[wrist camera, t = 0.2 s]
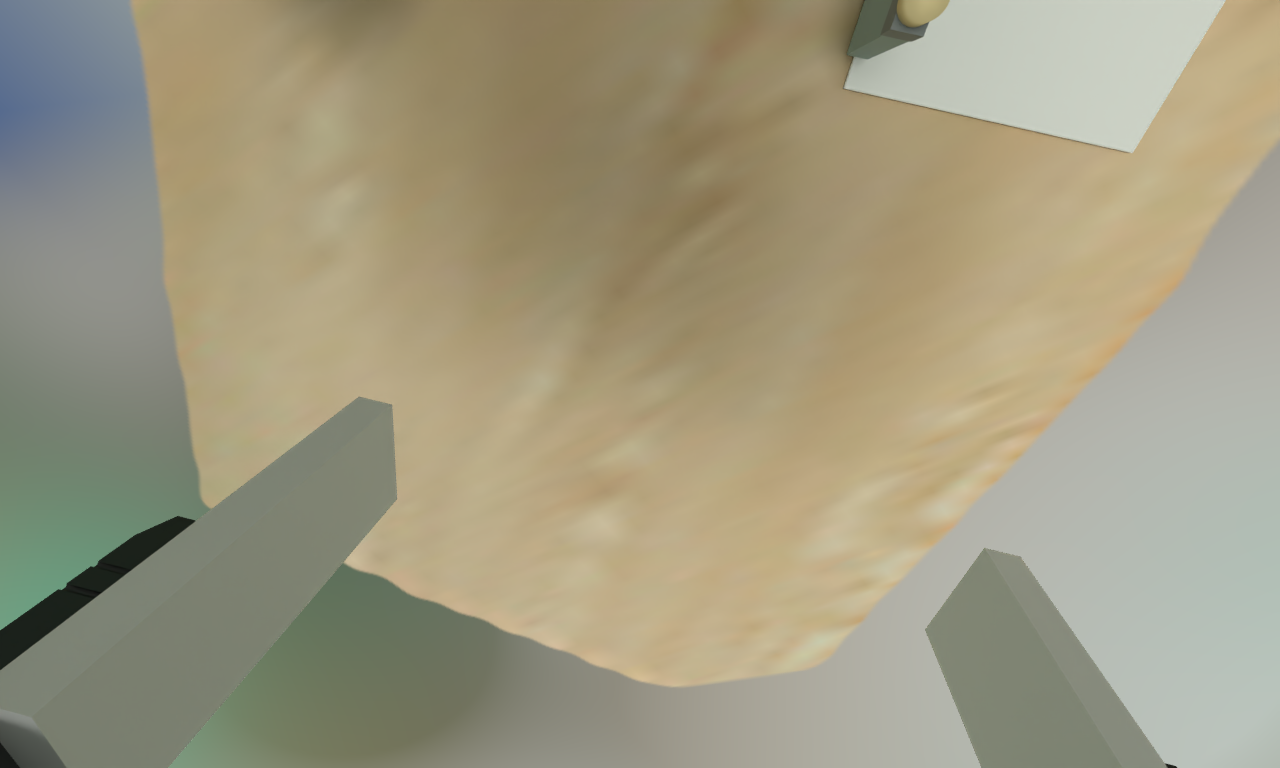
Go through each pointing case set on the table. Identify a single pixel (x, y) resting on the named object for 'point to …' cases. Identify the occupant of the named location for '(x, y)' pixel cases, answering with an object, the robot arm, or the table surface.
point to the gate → (892, 24)
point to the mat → (1046, 64)
